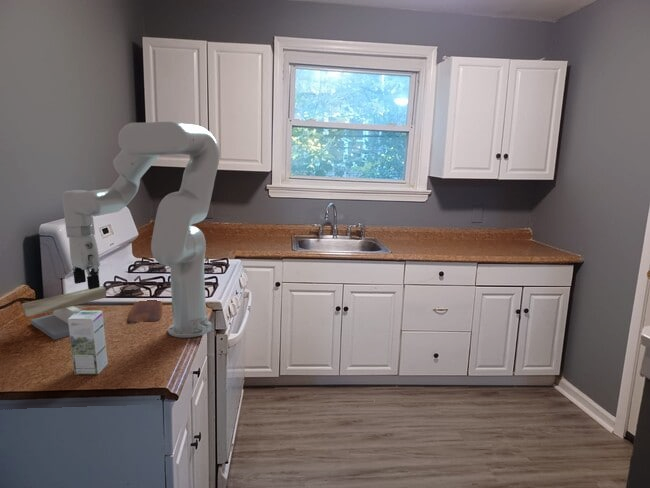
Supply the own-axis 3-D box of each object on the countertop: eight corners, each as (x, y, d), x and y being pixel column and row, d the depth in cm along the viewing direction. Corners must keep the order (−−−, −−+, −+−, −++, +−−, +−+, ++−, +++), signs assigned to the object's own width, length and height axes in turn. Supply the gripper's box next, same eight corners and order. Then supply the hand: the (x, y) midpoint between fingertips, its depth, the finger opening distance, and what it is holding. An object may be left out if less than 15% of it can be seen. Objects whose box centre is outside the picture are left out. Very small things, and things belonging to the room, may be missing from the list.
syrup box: (108, 363, 111) (103, 309, 108) (97, 375, 105) (91, 318, 102) (85, 364, 111) (79, 309, 108) (73, 375, 105) (66, 318, 102)
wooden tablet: (161, 323, 140) (161, 318, 139) (127, 326, 137) (126, 321, 136) (164, 297, 165) (164, 292, 164) (135, 299, 162) (135, 295, 161)
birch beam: (106, 297, 141) (105, 287, 140) (27, 316, 125) (26, 306, 124) (101, 295, 143) (100, 285, 142) (23, 314, 126) (22, 303, 126)
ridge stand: (104, 325, 135) (102, 305, 134) (54, 339, 125) (51, 318, 123) (79, 312, 147) (77, 293, 145) (31, 324, 136) (28, 304, 135)
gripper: (106, 232, 131) (112, 287, 135) (81, 227, 142) (87, 278, 145) (79, 236, 126) (86, 293, 129) (55, 230, 136) (62, 283, 140)
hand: (87, 285), depth 137 cm, fingers open, 9 cm apart
